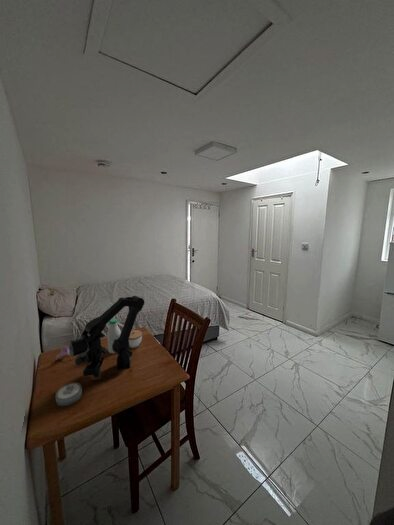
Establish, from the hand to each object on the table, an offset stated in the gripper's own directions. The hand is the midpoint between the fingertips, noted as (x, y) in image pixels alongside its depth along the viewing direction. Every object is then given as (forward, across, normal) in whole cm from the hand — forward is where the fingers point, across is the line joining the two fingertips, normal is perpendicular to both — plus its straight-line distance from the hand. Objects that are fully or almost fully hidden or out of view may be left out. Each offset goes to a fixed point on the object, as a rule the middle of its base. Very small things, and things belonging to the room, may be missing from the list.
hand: (96, 375), depth 105 cm
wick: (+2, 0, 0) cm, 2 cm away
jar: (+2, +10, -9) cm, 14 cm away
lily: (+2, -21, -22) cm, 30 cm away
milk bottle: (+2, -25, +4) cm, 25 cm away
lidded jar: (+2, -29, +15) cm, 33 cm away
